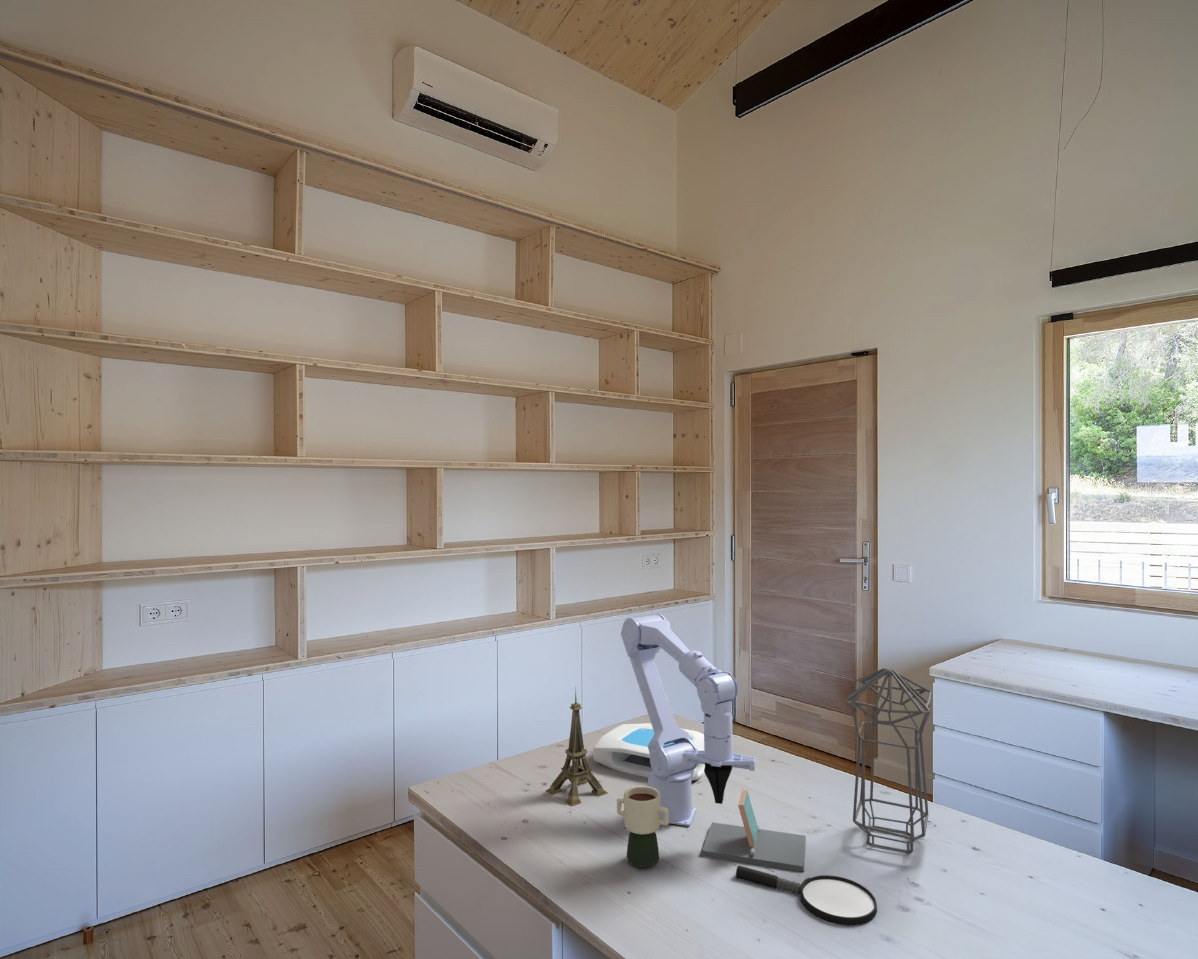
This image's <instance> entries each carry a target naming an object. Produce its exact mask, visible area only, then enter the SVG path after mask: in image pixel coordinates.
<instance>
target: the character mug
mask: <svg viewBox="0 0 1198 959" xmlns="http://www.w3.org/2000/svg"><path fill="white" fill-rule="evenodd" d="M622 804H623V806H622ZM622 808H623V809H622ZM616 812H617V814H618V815H619V816H623V822H624V825H625V829H626V830H627V831H628V832H629V833H628V839H627V848H626V859H627V861H628V863H630V865H632V866H635V867H639V868H644V867H646V868H647V867H650V866H653V865H655V864H656V863H657V862H659V860H660V851H659V844H658V836H657V833H656V832H657V830H659V827H660V826H661V825H662V826H669V824H670V823H669V811H668V809H667V808H665V807H661V796H660V793H659V791H658V790H657V789H655V788H652V787H648V785H639V786H638V785H637V786H633V787H629V788H628V789H626V790H625V791H624V793H623V797H618V798H616ZM661 812H663V813H664V820H663V819H661Z"/></svg>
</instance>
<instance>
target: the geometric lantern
mask: <svg viewBox="0 0 1198 959" xmlns="http://www.w3.org/2000/svg"><path fill="white" fill-rule="evenodd" d="M883 677H884V678H883ZM892 677H893V678H894V680H895V682H896V683H897V685H898V686H892ZM882 678H883V681H882V683H881V685H880V684H876V682H878V681H879V680H880V679H882ZM851 683H852V684H854V685H855V687H854V688H855V690H852V693H851V694H849V696H848V697H847V698H846V699H845V700H844V701H845V702H846V703H847V704H850V708H851V711H852V716H853V722H854V728H855V732H856V737H857V754H856V767H855V768H856V769H855V780H854V781H855V782H854V796H853V798H854V799H853V811H852V823H854V824H855V825H856V826H857V827H858V828H859V829H861V830H862V831H864V833H865V834H866V835H867V838H866V844H868V845H870V846H873V847H878V848H884V849H887V850H888V849H889V850H894V851H899V852H904V853H908V854H909V853H911V852H913V851H914V842H916V841H917V840H919V839H921V838H925V837H926V833H927V825H928V821H929V806H928V804H929V803H928V792H927V790H928V789H927V782H926V780H927V779H926V768H925V756H924V743H923V742H924V741H923V733H924V729H925V726H926V722H928V720H929V717H930V715H931V709H930V705H931V701H932V697H933V696H932V695H933V691H932V690H930V689H928V688H926V687H924V686H923V685H921V684H920V683H918V682H916V681H914V680H912V679H910V678H908V677H906V676H905V675H903V674H902V673H900V672H898V671H896V670H895V669H893V668H891V667H889V668H883V667H882V668H880V669H878V670H876V671H874V672H872V673H870V674H867V675H865V676H863V677H860V678H858V679H856V680H853V681H852V682H851ZM859 683H861V684H862V685H861V686H859ZM886 683H887V684H886ZM911 684H912V685H914V686H916V687H918V688H914V687H913V686H912V685H911ZM886 685H887V686H886ZM874 687H876V688H879V691H878V690H876V689H875V688H874ZM868 690H870V691H872V692H873V693H875V694H876V699H875V701H874V703H873V704H871V703H867V702H860V697H861V696H862V695H863V694H864V693H865V692H866V691H868ZM884 690H886V691H887V692H886V696H884V694H883V691H884ZM892 690H897V691H901V695H900V701H897V700H893V694H892ZM926 692H927V693H928V696H927V699H925V697H924V696H922V694H924V693H926ZM904 694H906V695H907V697H908V698H907V699H905V700H904ZM881 698H882V699H883V702H882V703H881V704H880V707H877V706H878V704H879V701H880V699H881ZM910 702H912V703H913V704H914V706H915V707H916V709H917V710H916V709H915V710H911V709H910V710H909V709H908V707H907V706H906V704H907V703H910ZM917 702H918V703H917ZM886 703H888V709H886V708H884V706H885V705H886ZM893 704H895V705H898V706H899V705H900V706H903V707H904V709H893ZM919 704H920V705H919ZM864 707H868V708H872V714H873V715H872V714H871V713H870V712H868V711H867V710H866V709H864ZM921 707H922V708H921ZM857 708H858V710H860V711H861V712H862V713H863V714H864V717H865V719H866V720H867V721H862V723H861V725H860V727H859V726H858V720H857V716H856V711H855V709H857ZM923 709H924V710H923ZM876 711H877V712H876ZM881 712H884V713H887V716H888V720H878V716H879V714H880V713H881ZM891 713H895V714H908V715H905V716H903V717H900V718H896V719H895V720H892V718H891ZM920 715H923V717H922V720H921V723H920V725H919V727H918V725H917V723H916V721H915V720H914V717H917V716H920ZM869 718H870V719H871V721H870V720H869ZM908 719H911V720H912V723H913V724H914V726H915V727H914V726H907V725H900V724H897V723H900V722H904V721H906V720H908ZM868 725H872V728H871V729H870V730H869V731H868ZM878 725H883V726H891V727H892V728H893V729H894V731H895V732H896V733H897V735H898V736H899V738H900V740H901V742H902V743H903V744H904V745H901V744H895V743H890V742H883V741H878V740H876V727H877V726H878ZM863 728H864V729H863ZM899 728H902V729H903V728H904V729H910V730H911V729H912V730H914V745H908V743H907V741H906V740H905V739H904V737H903V735H902V733H901V732H900V730H899ZM862 729H863V736H862V735H860V734H861V731H862ZM871 733H872V735H871ZM870 735H871V739H867V738H868V737H869V736H870ZM868 742H869V743H871V761H870V762H871V764H870V765H871V766H870V785H869V786H870V793H869V797H867V798H866V751H867V750H866V749H867V743H868ZM875 744H880V745H885V746H886V745H887V746H892V747H897V748H903V749H906V759H907V761H906V763H907V766H906V767H907V780H908V782H907V783H908V800H909V801H908V802H909V805H907V804H903V803H897V802H892V801H889V800H888V801H887V800H882V799H877V798H874V775H875V774H874V773H875V772H874V770H875V747H876V746H875ZM919 749H920V750H919ZM910 750H914V776H915V777H914V778H915V781H914V789H915V790H914V791H915V793H914V794H915V795H914V798H915V799H914V800H915V804H914V806H913V793H912V792H913V789H912V773H911V772H912V769H911V754H910ZM860 759H861V762H860ZM860 763H861V778H860V779H861V780H860V795H859V801H858V792H859V791H858V788H859V776H860V775H859V773H860ZM920 763H921V765H920ZM921 772H922V774H921ZM921 775H922V777H921ZM922 786H923V790H922ZM922 792H923V793H922ZM923 796H924V797H923ZM923 798H924V804H923ZM866 802H869V807H870V812H871V815H870V813H869V812H868V809H867V808H866ZM872 802H876V803H880V804H885V805H890V806H894V807H895V806H896V807H899V808H900V807H901V808H904V809H909V819H908V821H904V820H900V819H899V820H897V819H891V818H885V817H877V816H875V814H874V810H873V803H872ZM857 803H858V805H857ZM924 809H925V810H924ZM860 810H861V821H862V822H859V821H858V820H857V819H858V816H859V812H860ZM916 811H918V812H920V814H919V815H920V818H918V819H917V820H916V821H914V815H915V813H916ZM866 814H867V816H868V825H866ZM871 820H872V821H871ZM875 820H881V821H888V822H892V823H901V824H905V830H901V829H897V828H890V827H885V826H878V825H875V822H876V821H875ZM871 822H872V824H871ZM918 823H920V826H921V834H919V835H916V836H915V831H914V830H915V829H914V828H915V825H916V824H918ZM909 827H910V830H909ZM871 831H874V832H875V831H876V832H878V833H883V834H887V835H890V836H895V837H899V838H903V839H908V841H906V840H902V839H896V838H891V837H888V836H882V835H876V834H872V833H871ZM909 831H910V832H909ZM898 832H899V833H898ZM906 834H907V835H906ZM875 838H878V839H882V840H888V841H893V842H897V843H903V844H906V848H907V849H903V848H898V847H892V846H886V845H883V844H876V843H875Z"/></svg>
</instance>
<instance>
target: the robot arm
mask: <svg viewBox="0 0 1198 959" xmlns="http://www.w3.org/2000/svg"><path fill="white" fill-rule="evenodd" d="M620 637H621V639H622V642H623V645H624V648H625V651H626V653H627V658H629V660H630V664H631V666H632V669H633V672H634V676H635V678H636V682H637V684H638V687H639V692H640V694H641V696H642V699H643V703H644V707H645V708H646V711H647V715H648V718H649V721H650V723H651V724H652V727H653V730H654V733H655V734H654V736H653V737H652V739H651V741H650V742H649V744H648V749H649V753H650V758H649V763H650V764H649V765H650V767H651V768H652V770H653V772H651V773H650V775H649V777H648V779H647V786H648V787H652V788H655V789H657V790H658V791H659V793H660V796H661V807H665V808H667V809H668V811H669V824H673V825H679V826H685V827H686V826H687V827H690V826H691V824H692V822H693V819H694V817H695V814H696V812H697V808H696V807H693V806H692V805H693V804H692V800H693V799H692V781H691V775H693V774H694V769H695V768H696V767H697V766H698V763H699V764H705V769H704V772H705V774H704V776H705V777H706V778H707V780H708V782H709V784H710V787H711V790H712V794H713V797H714V803H715V804H718V805H719V804H721V805H722V804H723V802H724V796H725V789H726V786H727V782H728V780H729V778H730V776H731V773H732V770H733V768H736V769H745V770H749V771H752V772H755V770H756V757H750V756H746V755H742V754H739V753H734V752H733V751H734V748H733V747H734V746H733V745H734V744H733V701H734V700H735V699H736V698H737V696H738V693H739V692H738V691H739V687H738V682H737V680H736V679H735V677H734V676H733V675H732V673H731V672H729V671H727V670H724V671H722V670H721V669H717V667H715V665H713V664H712V663H711V662H710V661H709V660H708V659H707V658H705V656H704V654H703V653H702V652H701V651H699V650H698V651H697V650H690V649H689V648H688V647H687V646H686V645H685V644H684V643H683V641H681V639H680V638H679V637H678V636H677V635H676V634H675V633H674V632H673V630H672V629H671V623H670V621H669V620H667V619H666V617H665V616H664V615H662V614H661V613H656V614H653V615H646V616H640V617H639V616H638V617H627V618H626V619H625V620H624V621H623V623H622V627H621V632H620ZM661 649H662V650H663V651H664V652H665V653H667V654H668V655H669V656H670V657H671V658H673V659H674V660H675V661H676V662H677V663H678V671H679V672H680V673H681V674H682V675H683V676H684V678H686V679H687V680H688V681H689V682H690V683H691V684H692V685H693V686H694V687H695V688H696V693H697V697H698V699H699V701H700V708H701V711H702V712H703V734H704V750H703V751H697V748H696V746H695V745H694V744H693V742H692V741H691V739H690V736H689V733H688V732H686V731H685V730H683V729H684V728H681V727H680V726H678V725H677V722H676V719H675V717H674V713H673V711H672V707H671V705H670V701H669V698H668V696H667V693H666V690H665V688H664V684H663V682H662V679H661V676H660V673H659V670H658V668H657V664H656V662H655V657H656V655H657V654H658V653H659V652H660V650H661ZM669 743H674V744H671V745H667V746H664V747H663V745H665V744H669ZM661 819H663V820H664V813H663V812H661Z"/></svg>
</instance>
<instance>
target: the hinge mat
mask: <svg viewBox="0 0 1198 959" xmlns="http://www.w3.org/2000/svg"><path fill="white" fill-rule="evenodd" d="M757 826H758V833H757V838H756V843H755V846H752V847H750V846H749V842H748V839H747V835H746V832H745V828H744V826H740V825H733V824H727V823H719V822H711V824H710V828H709V830H708V833H707V836H706V839H705V842H704V843H703V847H702V850H701V852H702V854H701V855H702V857H707V858H714V859H715V858H716V859H720V860H721V859H722V860H726V861H727V860H728V861H733V862H734V861H735V862H739V863H746V864H750V865H751V864H752V865H758V866H759V865H760V866H764V867H770V868H771V867H772V868H777V869H784V870H789V871H796V872H802V873H804V872H805V871H804V870H805V858H806V855H805V854H806V842H807V841H806V839H807V838H806V835H803V834H796V833H791V832H783V831H777V830H775V831H774V830H768V829H762V828H760V825H758V824H757Z"/></svg>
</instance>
